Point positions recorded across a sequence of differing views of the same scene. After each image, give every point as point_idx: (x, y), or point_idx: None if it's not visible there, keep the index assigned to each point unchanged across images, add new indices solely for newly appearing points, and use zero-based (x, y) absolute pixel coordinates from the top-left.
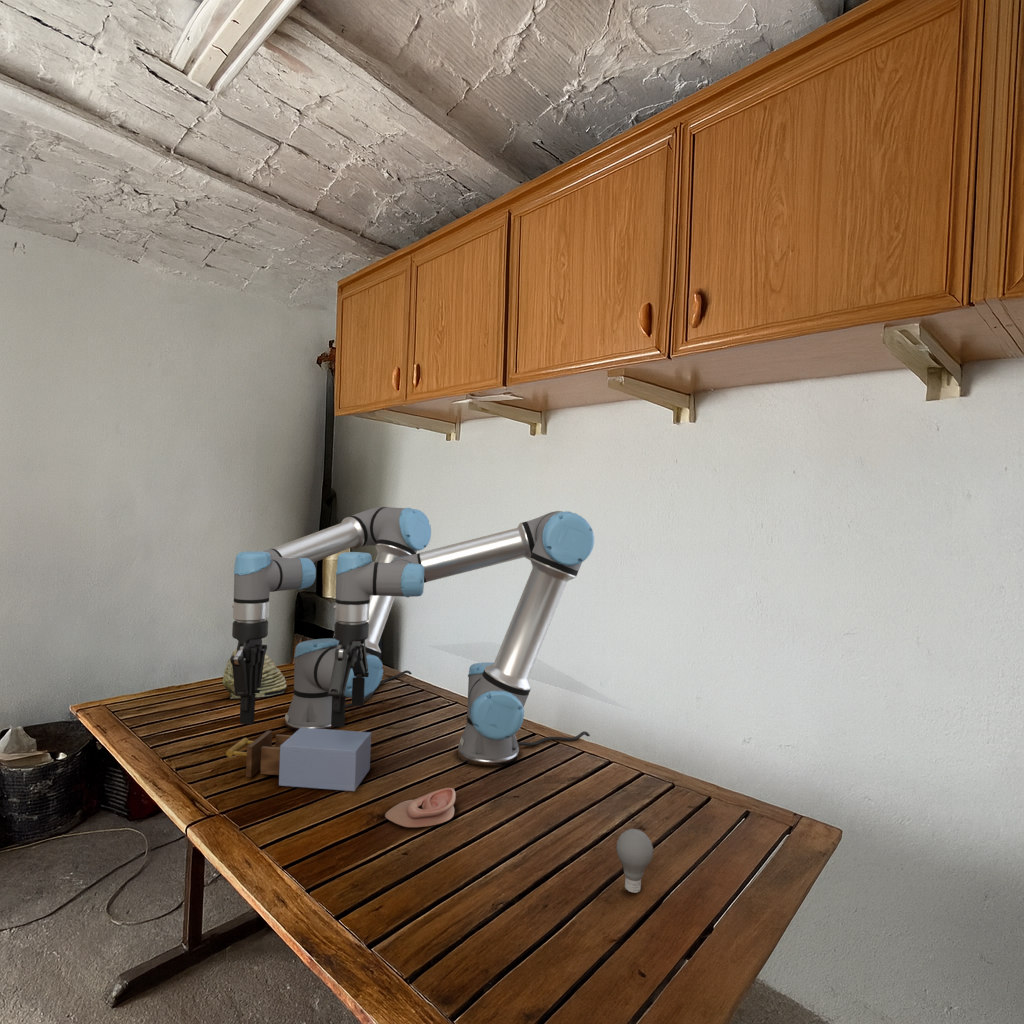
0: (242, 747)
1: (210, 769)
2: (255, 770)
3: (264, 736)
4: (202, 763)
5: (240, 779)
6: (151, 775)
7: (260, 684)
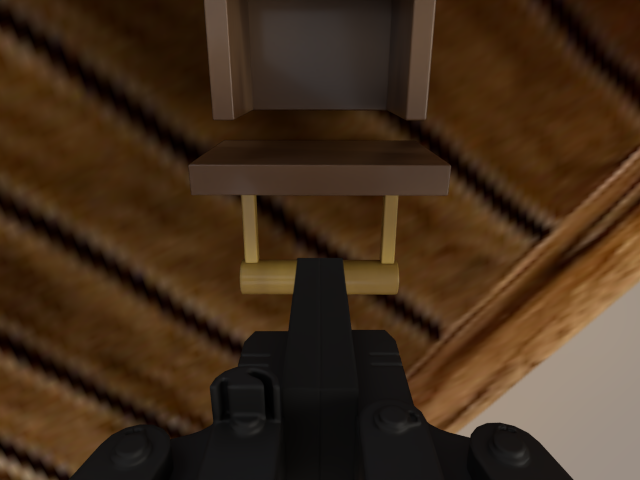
0: None
1: None
2: (378, 142)
3: (284, 169)
4: None
5: None
6: None
7: (119, 451)
